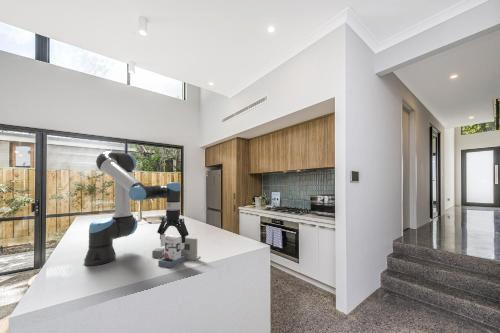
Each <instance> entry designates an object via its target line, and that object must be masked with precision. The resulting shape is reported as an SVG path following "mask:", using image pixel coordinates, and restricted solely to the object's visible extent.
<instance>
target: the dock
mask: <svg viewBox="0 0 500 333" xmlns="http://www.w3.org/2000/svg"><path fill="white" fill-rule="evenodd" d="M186 260H187V259H186V255H183V254H181V258H179V259H176V260H172V259H168V258H164V257H163V258H160V259H159V260H157V261H158V263H157V264H158V267H162V268H169V269H171V268H174V267H175V266H177V265H180V264H181V263H183V262H185V261H186Z"/></svg>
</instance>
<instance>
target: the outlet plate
mask: <svg viewBox="0 0 500 333" xmlns="http://www.w3.org/2000/svg"><path fill="white" fill-rule="evenodd" d="M181 254H183V255H186V260H192V261H197V260H199V259H200V258H201V255H200V256H199V255H198V238H196V237H188V236H186V237H185V243H184V248H183V249H181Z"/></svg>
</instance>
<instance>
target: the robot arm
mask: <svg viewBox="0 0 500 333" xmlns="http://www.w3.org/2000/svg"><path fill="white" fill-rule="evenodd" d="M95 164H96V168H98V170H99V171H101V172H102V173H103V174H106V175H108V176H109V177H110V178H112V179H113V180H114V214H113V215H112V218H111V217H107V218H106V217H105V218H100V219H97V220H93V221H92V222H91V223H90V224H89V228H88V249H87V252H86V255H85V257H84V260H83V261H84V262H83V263H84V265H85V266H89V267H90V266H101V265H104V264H108V263H111V262H113V261H115V260H116V258H117V257H116V255H117V254H116V250H115V249H114V246H113V243H114V242H113V240H116V239H120V238H123V237H128V236H131V235H132V234H134V233H135V232H136V230H137V228H138V219H137V217H135V216H134V213H132V212H131V201H137V202H140V201H146V200H148V201H149V200H156V199H166V202H165V206H166V207H165V209H166V211H165V216H163V217H161V221H160V223H159V226H158V228H157V231H156V233H157V234H159V240H160V248H161V247H165V237H166V231H168V229H169V228H170V227H174V228H176V230H177V232H178V233H179V236H181V237H180V249H183V248H184V243H185V237H188V236H190V234H189V231H188V228H187V226H186V223H185V218H180V216H181V191H182V190H181V183H180V182H175V181H174V182H171V181H169V182H167V183H166V185H159V184H155V185H145V184H144V183H142V182H140V181H139V179H137V178H136V177H134V176H133V171H134V170H136V168H137V160H136V158H135V156H134V155H133V154H131V153H127V152H117V151H110V150H109V151H104V152H101V153H100V154H99V155H98V156H97V158H96V160H95Z"/></svg>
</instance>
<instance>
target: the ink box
mask: <svg viewBox="0 0 500 333" xmlns="http://www.w3.org/2000/svg"><path fill="white" fill-rule="evenodd" d="M180 237H181V235H174V234H170V235H169V234H168V235H167V236H166V235H165V245H164V255H163V256H164V257H163V258H168V259H172V260H176V259H179V258H181V249H180Z"/></svg>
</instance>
